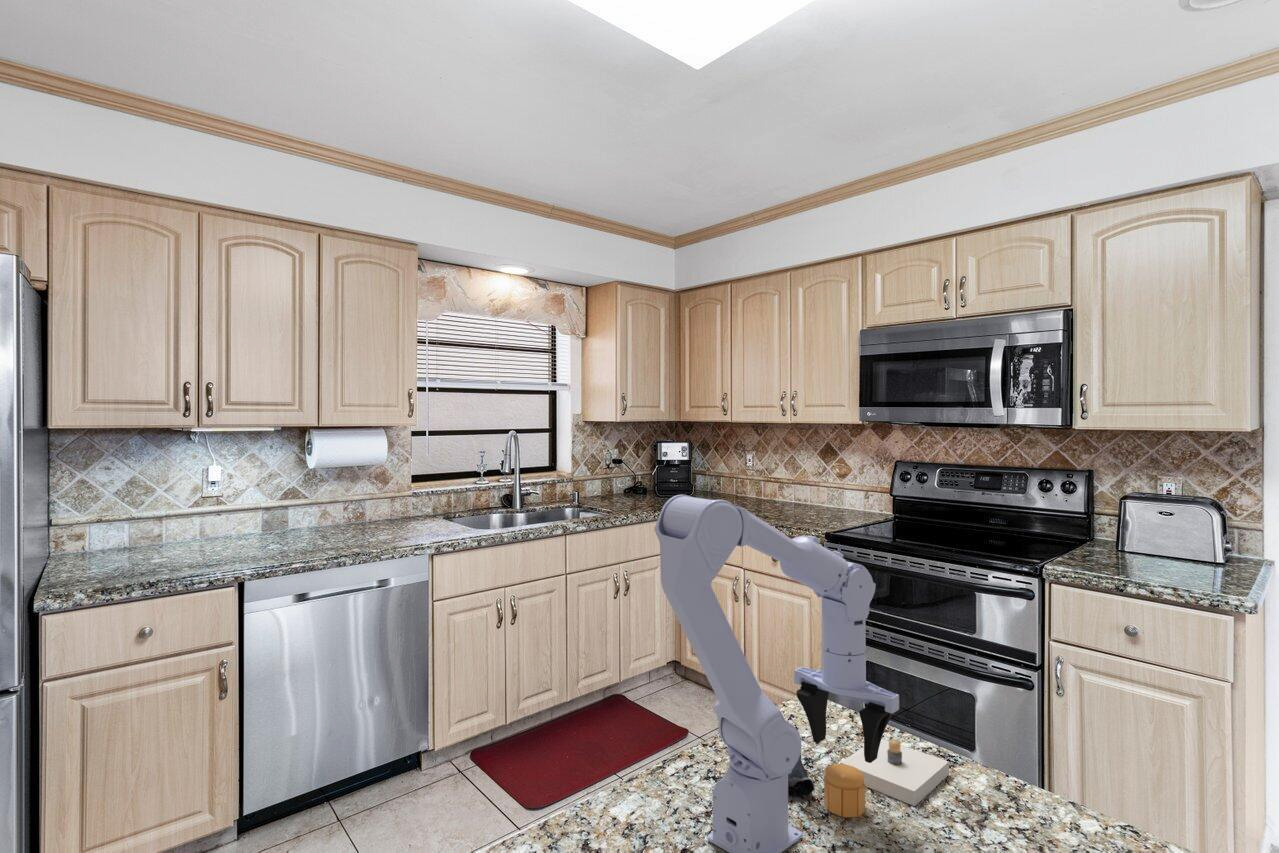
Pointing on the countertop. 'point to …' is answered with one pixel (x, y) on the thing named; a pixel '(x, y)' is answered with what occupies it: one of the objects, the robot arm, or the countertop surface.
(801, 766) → the electronic device
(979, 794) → the countertop surface
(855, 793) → the orange acorn nut
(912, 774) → the white base plate
